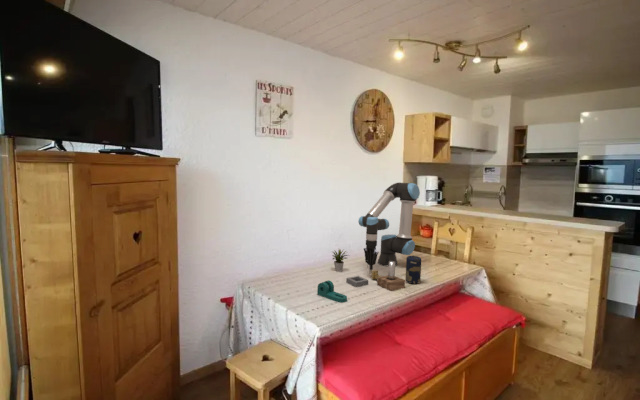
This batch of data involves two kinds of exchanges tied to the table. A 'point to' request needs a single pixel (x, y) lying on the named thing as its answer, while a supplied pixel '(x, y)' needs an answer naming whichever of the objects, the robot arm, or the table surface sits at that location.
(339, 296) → the bracket
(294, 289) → the table surface
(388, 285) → the socket block
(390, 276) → the grey rounded rod
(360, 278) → the grey square frame
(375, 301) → the table surface
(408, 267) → the canister
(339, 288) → the table surface
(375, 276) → the yellow t-shaped block
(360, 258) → the table surface
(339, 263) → the house plant
